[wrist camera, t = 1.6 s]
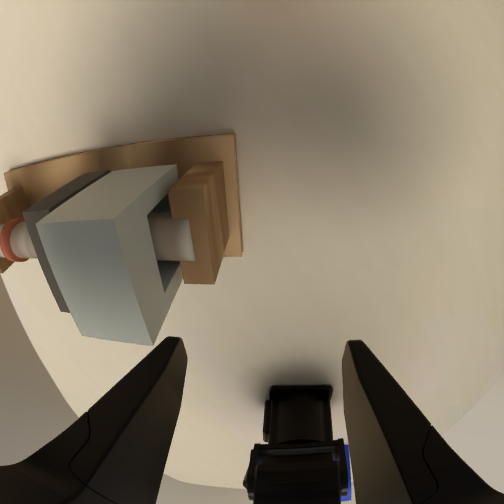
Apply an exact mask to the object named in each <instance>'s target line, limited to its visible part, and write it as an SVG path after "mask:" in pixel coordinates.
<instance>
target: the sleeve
mask: <svg viewBox="0 0 504 504" xmlns="http://www.w3.org/2000/svg"><path fill="white" fill-rule="evenodd" d="M177 181H178V173H177V165H176V164H174V165H162V166H152V167H142V168H133V169H125V170H117V171H112V172H110V173H109V174H107V175H105V176H104V177H102V178H101V179H99V180H98V181H96V182H94V183H93V184H91V185H90V186H88V187H87V188H85V189H84V190H82V191H81V192H79V193H78V194H76V195H75V196H73V197H72V198H70V199H69V200H67V201H66V202H65V203H63V204H62V205H60V206H59V207H58V208H56V209H55V210H53V211H52V212H51V213H49V214H48V215H47V216H45V217H44V218H43V219H41V220H40V221H39V222H37V223H36V227H37V230H38V233H39V236H40V239H41V242H42V245H43V248H44V250H45V253H46V256H47V259H48V261H49V264H50V266H51V269H52V271H53V274H54V276H55V279H56V281H57V284H58V286H59V288H60V291H61V293H62V295H63V298H64V300H65V302H66V304H67V306H68V308H69V311H70V313H71V315H72V317H73V319H74V321H75V323H76V325H77V327H78V329H79V331H80V333H81V335H82V336H87V337H93V338H99V339H105V340H112V341H119V342H126V343H133V344H141V345H150V346H153V345H154V343H155V341H156V338H157V336H158V333H159V331H160V329H161V326H162V324H163V322H164V319H165V317H166V315H167V313H168V310H169V308H170V306H171V303H172V301H173V299H174V297H175V294H176V292H177V290H178V288H179V286H180V283H181V281H182V279H183V275H182V270H181V264H180V261H171V260H156V256H155V252H154V247H153V243H152V238H151V233H150V229H149V224H148V219H147V215H148V214H149V213H152V212H171V208H170V202H169V196H168V190H169V189H170V188H171V187H172V186H173V185H174V184H175V183H176V182H177Z"/></svg>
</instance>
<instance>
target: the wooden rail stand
mask: <svg viewBox="0 0 504 504" xmlns="http://www.w3.org/2000/svg"><path fill="white" fill-rule="evenodd" d="M174 164H176V165H177V173H178V181H177V182H176V183H175V184H174V185H173V186H172V187H171V188H170V189H169V190H168V196H169V202H170V208H171V212H152V213H149V214H148V215H147V219H148V224H149V229H150V233H151V238H152V243H153V247H154V252H155V256H156V260H171V261H180V264H181V270H182V275H183V279H184V284H215V281H216V278H217V274H218V271H219V268H220V265H221V261H222V258H223V257H241V256H242V252H243V247H242V233H241V218H240V203H239V188H238V173H237V157H236V141H235V134H223V135H208V136H196V137H185V138H175V139H166V140H157V141H149V142H142V143H135V144H128V145H122V146H116V147H110V148H104V149H98V150H93V151H88V152H83V153H78V154H73V155H69V156H64V157H60V158H55V159H51V160H47V161H43V162H39V163H35V164H31V165H28V166H24V167H20V168H17V169H13V170H10V171H8V172H6V173H4V176H5V180H6V184H7V188H8V191H7V192H6V193H4V194H3V195H1V196H0V273H3V272H4V271H6V270H7V269H8V268H9V267H10V266H11V265H12V264H13V263H14V262H24V261H27V260H28V259H29V258H38V257H37V255H36V252H35V249H34V247H33V244H32V241H31V238H30V235H29V232H28V229H27V226H26V223H25V220H24V217H23V213H22V212H24V211H25V210H27V209H28V208H30V207H31V206H33V205H34V204H36V203H37V202H39V201H40V200H42V199H43V198H45V197H46V196H48V195H49V194H51V193H52V192H54V191H56V190H57V189H59V188H60V187H62V186H64V185H65V184H67V183H69V182H70V181H72V180H74V179H75V178H77V177H79V176H81V175H82V174H84V173H89V172H96V171H103V170H110V172H112V171H117V170H125V169H133V168H142V167H152V166H162V165H174Z"/></svg>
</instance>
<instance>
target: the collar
mask: <svg viewBox="0 0 504 504" xmlns="http://www.w3.org/2000/svg"><path fill="white" fill-rule="evenodd" d="M109 173H110V170H103V171H96V172H89V173H84V174H82V175H81V176H79V177H77V178H75V179H74V180H72V181H70V182H69V183H67V184H65V185H64V186H62V187H60V188H59V189H57V190H56V191H54V192H52V193H51V194H49V195H48V196H46V197H45V198H43V199H42V200H40V201H39V202H37V203H36V204H34V205H33V206H31V207H30V208H28V209H27V210H25V211H24V212H22V213H23V217H24V220H25V223H26V226H27V229H28V232H29V235H30V238H31V241H32V244H33V247H34V249H35V252H36V255H37V257H38V260H39V263H40V265H41V268H42V270H43V273H44V275H45V277H46V280H47V282H48V284H49V287H50V289H51V291H52V293H53V296H54V298H55V300H56V302H57V304H58V306H59V308H60V311H61V312H68V313H70V311H69V308H68V306H67V304H66V302H65V300H64V298H63V295H62V293H61V291H60V288H59V286H58V284H57V281H56V279H55V276H54V274H53V271H52V269H51V266H50V264H49V261H48V259H47V256H46V253H45V250H44V248H43V245H42V242H41V239H40V236H39V233H38V230H37V227H36V223H37V222H39V221H40V220H41V219H43V218H44V217H45V216H47V215H48V214H49V213H51V212H52V211H53V210H55V209H56V208H58V207H59V206H60V205H62V204H63V203H65V202H66V201H67V200H69V199H70V198H72V197H73V196H75V195H76V194H78V193H79V192H81V191H82V190H84V189H85V188H87V187H88V186H90V185H91V184H93V183H94V182H96V181H98V180H99V179H101V178H102V177H104V176H105V175H107V174H109Z"/></svg>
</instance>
